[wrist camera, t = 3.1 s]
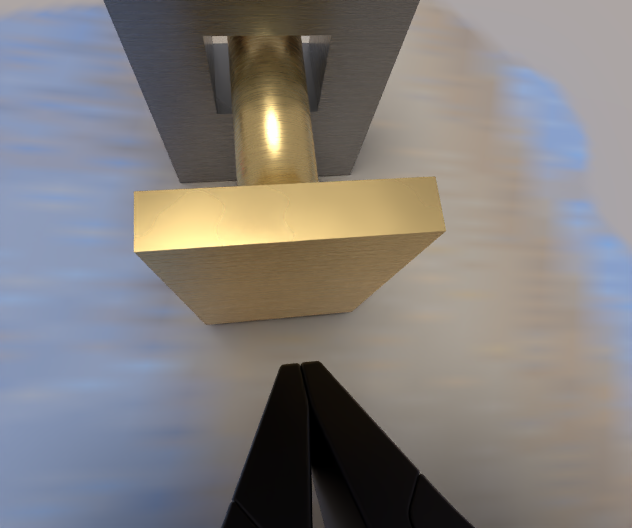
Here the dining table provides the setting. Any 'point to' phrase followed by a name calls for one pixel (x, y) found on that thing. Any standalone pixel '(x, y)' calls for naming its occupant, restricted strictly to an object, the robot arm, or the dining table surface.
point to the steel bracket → (214, 75)
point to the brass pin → (281, 211)
